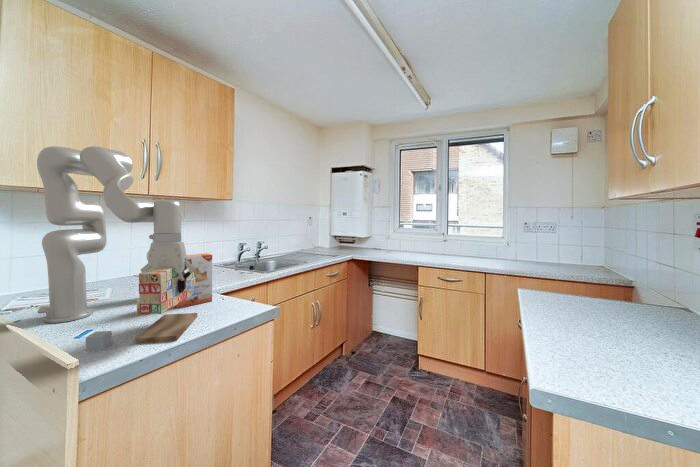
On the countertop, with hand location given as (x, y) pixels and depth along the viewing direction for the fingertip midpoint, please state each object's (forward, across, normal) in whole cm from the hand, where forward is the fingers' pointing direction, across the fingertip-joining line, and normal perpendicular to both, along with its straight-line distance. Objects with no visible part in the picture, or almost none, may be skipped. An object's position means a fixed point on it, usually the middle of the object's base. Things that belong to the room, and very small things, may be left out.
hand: (169, 291), depth 93 cm
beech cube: (+12, -15, +18) cm, 27 cm away
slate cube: (+13, -14, -11) cm, 22 cm away
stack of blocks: (+4, 0, +1) cm, 4 cm away
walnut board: (+12, 0, 0) cm, 12 cm away
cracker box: (+13, -1, +27) cm, 30 cm away
